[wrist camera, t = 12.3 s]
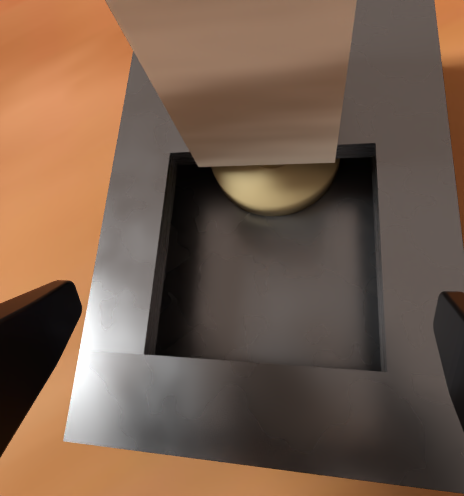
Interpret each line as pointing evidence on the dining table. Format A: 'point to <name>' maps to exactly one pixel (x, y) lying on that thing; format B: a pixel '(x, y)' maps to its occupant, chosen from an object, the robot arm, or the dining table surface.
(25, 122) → the dining table surface
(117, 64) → the dining table surface
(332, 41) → the keyhole post
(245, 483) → the dining table surface
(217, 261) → the keyhole plate
